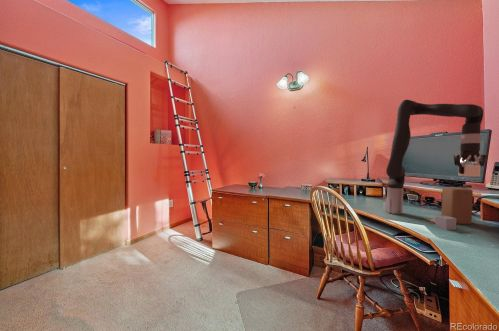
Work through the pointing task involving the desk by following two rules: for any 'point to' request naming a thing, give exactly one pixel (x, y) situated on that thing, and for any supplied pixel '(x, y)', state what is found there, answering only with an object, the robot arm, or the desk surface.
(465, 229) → the desk surface
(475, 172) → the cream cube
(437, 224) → the mauve cube
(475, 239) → the desk surface
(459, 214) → the wooden block
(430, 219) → the tile
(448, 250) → the desk surface
